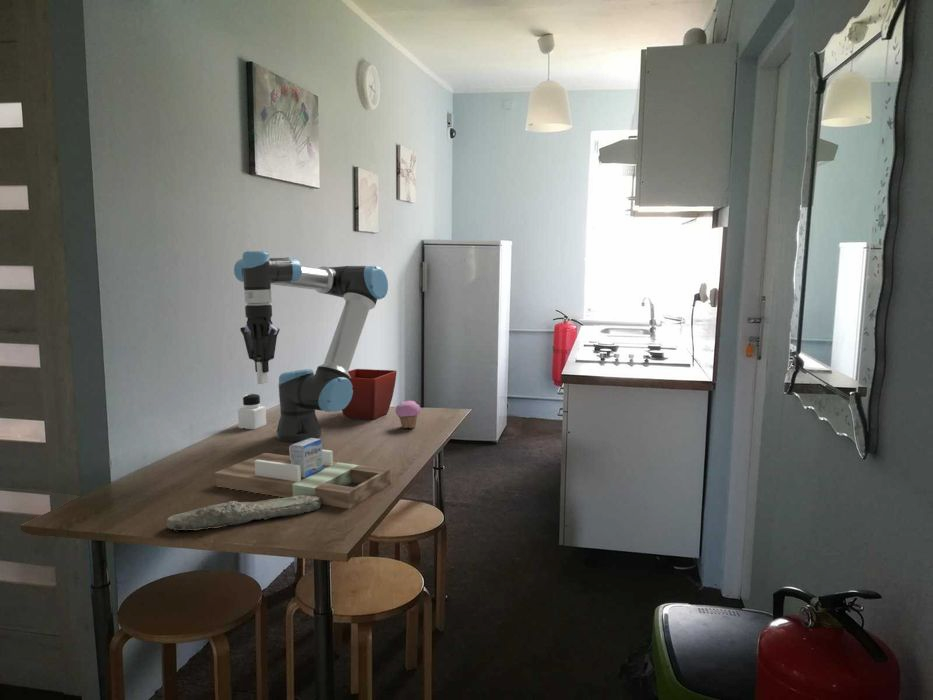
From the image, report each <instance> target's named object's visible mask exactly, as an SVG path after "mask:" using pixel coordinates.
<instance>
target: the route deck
mask: <svg viewBox="0 0 933 700" xmlns="http://www.w3.org/2000/svg"><path fill="white" fill-rule="evenodd" d="M255 460H265V461H272V462H279V463H287V464H291V460H290V455H286V454H278V453H277V454H276V453H268V452H263V453H260V454H259V455H255V456H254V457H251V458H248V459H245V460H243V461H241V462H238V463H236V464H234V465H230V466H228V467H225V468H222V469H221V470H218V471H214V482H215V487H216V486H222V487H227V488H233V489H239V490H245V491H252V492H258V493H264V494H269V495H274V496H279V497H278V498H280V497H284V498H286V497H293V496H299V495H305V496H318V497H320V500H321V505H323V504H324V506H329V505H330V506H331V507H337V508H342V509H348V510H349V509H351V508H353V507H355V506H356V505H358V504H360V503H361V502H363V501H364V500H367V499H368V498H369V497H371V496H373V495H374V494H376V493H377V491H378V492H379V491H381V490H382V488H383V489H384V488H386V487H387V486H390V484H392V482H391V480H392V478H391V477H392V475H391V469H390V468H382V467H375V466H370V465H369V466H368V465H361V464H353V463H346V462H338V461H333V465H332V466H328V465H323V470H321V471H319V472H317V473H315V474H313V475H310V476H308V477H306V478H302V477H301V481H299V482H296V481H290V480H283V479H277V478H270V477H263V476H257V475H255ZM385 486H386V487H385ZM380 489H381V490H380ZM372 494H373V495H372ZM274 496H273V497H274Z"/></svg>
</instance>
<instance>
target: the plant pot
mask: <svg viewBox="0 0 933 700" xmlns="http://www.w3.org/2000/svg"><path fill="white" fill-rule="evenodd" d="M397 372H398V371H397V370H392V369H391V370H390V369H370V368H369V369H368V368H355V369H352V370H351V369H350V370H348V373H349V375H350V377H351V378H350V382H351V384H352V387H353V388H352V390H353V394H352V398H351V401H350V402H349V404H348V405H347V406H346V407H345V408H344V409H343V410H341V413H342V414H343V416H344V418H345V417H349V418H348V419H355V418H359V419H358V420H369V419H371V420H372V421H373V420H375V419H377V418H380V417H382V416H383V415H386V414H388V413H389V410H390V407H391V403H392V400H393V396H394V391H395V388H396V387H395V386H396V381H397V380H396V379H397ZM379 416H380V417H379Z"/></svg>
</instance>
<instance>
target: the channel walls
mask: <svg viewBox="0 0 933 700" xmlns="http://www.w3.org/2000/svg"><path fill="white" fill-rule="evenodd" d="M288 448H289V449H288V450H289V456H290V460H291V451H290V446H288ZM322 457H323V465H328V466H332V465H333V462H334V454H333V450H331V449H330V450H329V449H322ZM255 475H257V476H263V477H270V478H277V479H283V480H290V481H296V482H299V481H301V470H300V465H294V464H287V463H279V462H272V461H265V460H255Z"/></svg>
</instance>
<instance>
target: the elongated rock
mask: <svg viewBox="0 0 933 700" xmlns="http://www.w3.org/2000/svg"><path fill="white" fill-rule="evenodd" d="M321 506H322V504H321V500H320V497H318V496H305V495H299V496H293V497H286V498H280V497H276V498H271V499H270V498H269V499H265V500H264V499H263V500H258V501H240V502H239V501H237V500H230V501H227V502H223V503H222V502H221V503H216V504H211V505H206V506H204V507H202V508H201V507H200V508H195V509H192V510H188V511H185V512H182V513H176V514H173V515H170V516H169V517H168V518H167V519H166V527H167V528H168V529H169V530H172V529H174V530H173V531H175V530H179V529H182V530H185V531H187V529H199V528H208V527H219V526H227V525H230V526H234V525H240V524H246V523H249V522H251V521H253V520H262V519H263V520H269V519H271V518H277V517H278V518H279V517H288V516H290V517H291V516H295V515H296V514H298V515H301V513H302V514H304V512H305V513H310V512H312V511H316V510H318V509H320V508H321ZM227 527H228V526H227Z"/></svg>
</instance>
